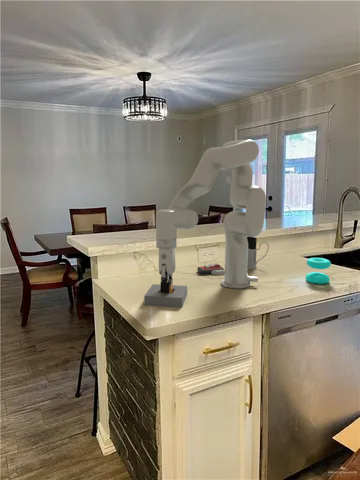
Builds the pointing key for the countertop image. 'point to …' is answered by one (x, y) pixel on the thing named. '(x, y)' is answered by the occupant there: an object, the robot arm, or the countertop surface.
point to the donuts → (317, 276)
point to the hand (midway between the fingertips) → (166, 289)
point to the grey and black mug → (253, 252)
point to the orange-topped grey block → (170, 285)
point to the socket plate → (165, 296)
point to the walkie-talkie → (211, 269)
